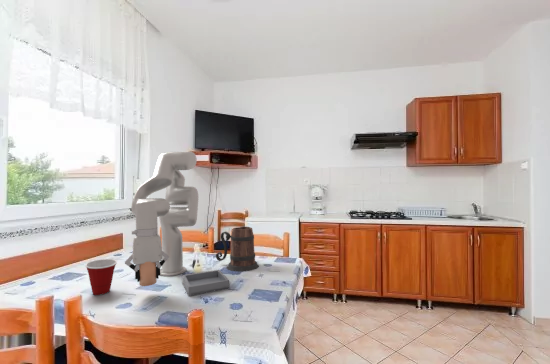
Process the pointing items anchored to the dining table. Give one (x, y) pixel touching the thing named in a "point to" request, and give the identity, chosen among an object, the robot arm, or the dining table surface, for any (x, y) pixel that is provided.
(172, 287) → the dining table surface
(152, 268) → the tan cylinder
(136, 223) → the robot arm
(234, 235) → the tankard
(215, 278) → the tray
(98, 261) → the plastic cup
